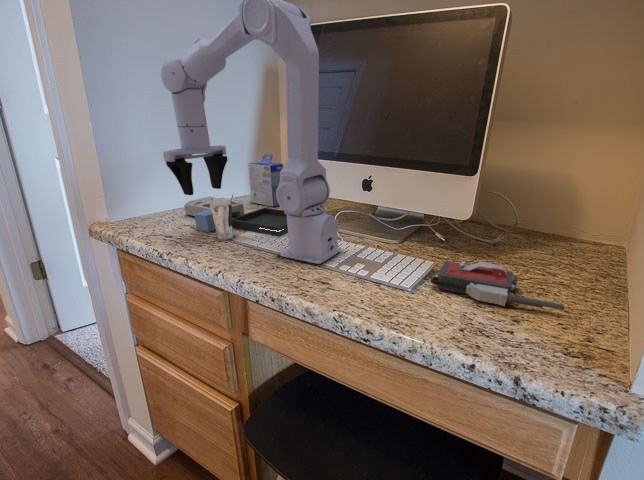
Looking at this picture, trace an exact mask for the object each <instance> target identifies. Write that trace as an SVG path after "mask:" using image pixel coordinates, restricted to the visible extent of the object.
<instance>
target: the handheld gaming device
mask: <svg viewBox="0 0 644 480" xmlns="http://www.w3.org/2000/svg"><path fill="white" fill-rule="evenodd" d="M214 198H215V197H213V196H205V197H200V198H197V199H193V200H189V201H188V202H186V203H185V204H184V205H183V207H184V212H185V213H184V214H186V215H189V216H192V217H195V216H194V214H195V213H199V212H202V211H206V210H210V211H211V208H210V204H209V203H210V201H211V200H212V199H214ZM230 201H231V200H230ZM231 204H232V217H235V216H234V215H236V216H241V215H244V214H245V212H244V211H245V209H244V204H243V203H242V202H239V201H231Z"/></svg>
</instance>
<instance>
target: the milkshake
mask: <svg viewBox="0 0 644 480" xmlns="http://www.w3.org/2000/svg"><path fill="white" fill-rule="evenodd" d="M233 197H234V193H233V194H232V195H231V199H230V198H226V197H214V199H212V200H211V201H210V203H209V204H210V208H211V212H212V215H213V219H214V223H215V228H216V230H215V231H216V235H217V239H218V240H221V241H222V240H223V241H225V240H226V241H227V240H231V239H233V238H234V234H233V233H234V232H233V231H234V230H233V227H232V218H233V216H232V204H231V201H232V200H233Z"/></svg>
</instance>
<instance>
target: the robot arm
mask: <svg viewBox="0 0 644 480" xmlns="http://www.w3.org/2000/svg"><path fill="white" fill-rule="evenodd" d="M311 23H312V19H311V17H310V15H308V14H307V13H306V12H305V11H304V9H302V7H301V6H299V5H298V4H296V3H292V2H288V1H285V0H241V1H240V2H239V3H238V11H237V13H236V14H234V16H233V17H232V18H231V19H230V20H229V21H228V22H227V23H226V24H225V25H224V26H223V27H222V29H220V30H219V31H218V32H217V34H216V35H215V36H214V37H213V38H212V39H208V38H196V39H195V40H194V45H193V46H191V47H190V48H189V49H188V50H187V51H186V52H183V53H182V54H180V57H179V58H176V59H173V58H166V59H165V60H164V62H163V63H162V65H161V69H160V77H161V82H162V84H163V86H164V87H165V88H166V90H167V91H169V92H170V94H171V99H172V100H171V101H172V104H173V110H174V115H175V116H174V117H175V121H176V126H177V133H178V137H179V143H180V148H176V149H170V150H162V155H163V161H164V162H165V165H166V166H167V168H168V169H169V170H170V171H171V172H172V174H173V175H174V177H175V179H176V180H177V182H178V184H179V186H180V187H181V190H182V192H183V194H184V195H186V196H194V185H193V176H192V175H193V172H192V171H193V163H192V162H188V161H187V160H192V159H199V158H203V160H204V163H205V166H206V168H207V171H208V174H209V180H210V185H211V187H212V189H216V190H220V189H222V184H223V183H222V181H223V175H224V171H225V167H226V165H227V163H228V156H227V147H226V145H211V143H210V136H209V130H208V122H207V116H206V109H205V101H206V89H207V86H208V82H209V81H210V80H212V78H214V77H215V76H217V75H218V74H219V73H221V72H222V71H223V70H224V69H225V68H226V64H227V58H228V57H230V56H232V55H233V54H235V53H236V52H238V51H239V50H241V49H242V48H244V47H245V46H247V45H248V44H250V43H251V42H253V41H255V40H258V41H259V42H261V43H263V44H265V45H267V46H268V47H270V48H271V49H272V50H273V51H274V52H275V53H276V54H277V56H278V57H279V58H280V59H281V60H282V61H283V62H284V65H285V92H286V93H285V99H286V101H285V102H286V104H285V105H286V106H285V107H286V136H287V137H286V144H287V146H286V148H287V149H286V150H287V160H286V162H285V164H283V168H282V170H281V172H280V182H279V185H278V187H277V191H276V197H277V201H278V204H279V207H280V208H281V210H284V214H287V227H288V232H287V237H288V238H287V240H288V249H287V250H285V251H283V252H281V253H280V254H279V256H280V257H282V258H287V259H292V260H297V261H301V262H306V263H310V264H315V265H321V264H322V263H325V262H326V261H327V260H329V259H331V258H332V257H333V256H335V255H336V254H339V253H340V252H341V250H340V249H339V246H338V245H339V244H338V243H339V242H338V241H339V240H338V222H337V219H336V217H335V216H334V215H332V214H329V213H327V212H325V207H326V206H325V203H326V202H327V201H328V200H329V197H330V192H331V188H330V184H329V182H328V179H327V169H326V168H325V167H324V166H323V164H321V163H320V162H319V101H320V100H319V99H320V98H319V97H320V96H319V95H320V94H319V93H320V92H319V90H320V88H319V86H320V54H319V48H318V46H317V43H316V40H315V37H314V34H313V31H312V28H311V27H312V24H311ZM337 249H338V250H337Z"/></svg>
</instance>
